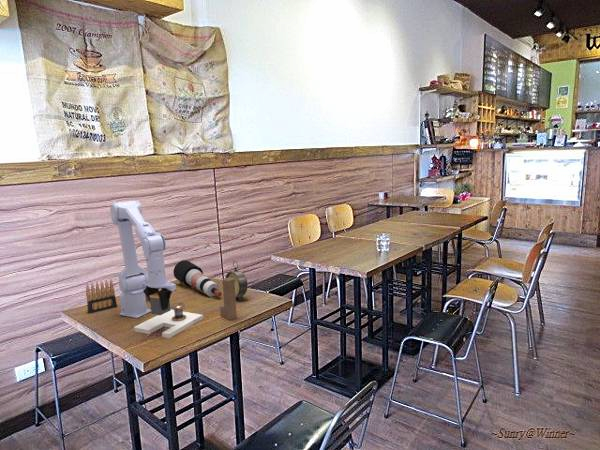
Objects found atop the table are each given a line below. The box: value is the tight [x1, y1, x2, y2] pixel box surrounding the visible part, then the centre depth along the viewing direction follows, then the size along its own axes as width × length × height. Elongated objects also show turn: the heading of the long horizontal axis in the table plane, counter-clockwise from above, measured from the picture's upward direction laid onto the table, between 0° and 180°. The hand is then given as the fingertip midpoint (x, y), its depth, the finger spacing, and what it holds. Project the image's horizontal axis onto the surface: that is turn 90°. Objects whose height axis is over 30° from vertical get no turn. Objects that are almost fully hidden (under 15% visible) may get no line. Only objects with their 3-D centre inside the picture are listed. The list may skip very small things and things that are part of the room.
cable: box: [172, 259, 223, 298], centre depth 193 cm, size 10×34×10 cm, turn 37°
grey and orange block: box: [149, 293, 172, 316], centre depth 149 cm, size 4×5×7 cm
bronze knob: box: [170, 302, 186, 321], centre depth 157 cm, size 5×5×5 cm
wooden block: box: [219, 277, 238, 321], centre depth 160 cm, size 7×3×15 cm, turn 40°
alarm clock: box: [225, 260, 248, 302], centre depth 180 cm, size 11×5×16 cm, turn 42°
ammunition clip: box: [85, 278, 118, 315], centre depth 173 cm, size 11×2×12 cm, turn 128°
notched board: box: [133, 309, 204, 339], centre depth 156 cm, size 16×18×2 cm
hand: (160, 308), depth 149 cm, fingers closed on grey and orange block, 4 cm apart
